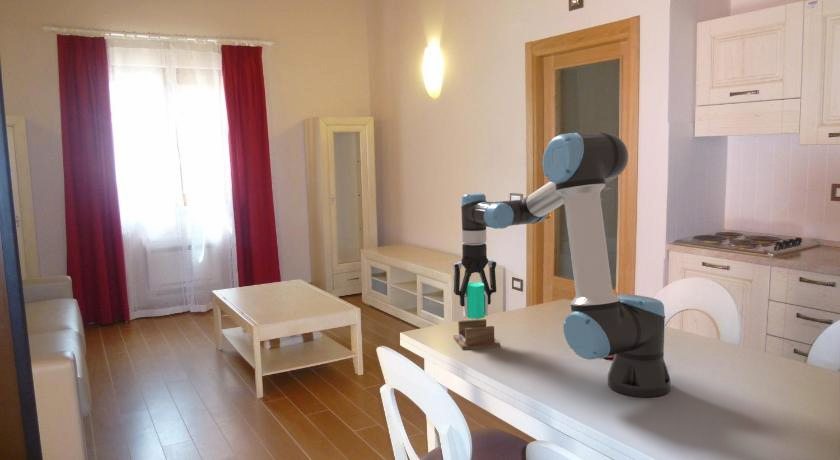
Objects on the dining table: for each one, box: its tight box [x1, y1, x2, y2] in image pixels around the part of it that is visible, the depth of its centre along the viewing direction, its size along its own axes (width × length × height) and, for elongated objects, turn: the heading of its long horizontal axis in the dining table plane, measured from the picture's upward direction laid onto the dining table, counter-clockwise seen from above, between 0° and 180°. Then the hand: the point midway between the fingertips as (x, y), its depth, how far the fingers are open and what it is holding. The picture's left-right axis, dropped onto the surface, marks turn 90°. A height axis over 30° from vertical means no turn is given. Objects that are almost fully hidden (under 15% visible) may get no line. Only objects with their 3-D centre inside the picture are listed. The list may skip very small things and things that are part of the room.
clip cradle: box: [453, 318, 501, 350], centre depth 197 cm, size 12×12×6 cm
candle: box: [465, 282, 486, 320], centre depth 195 cm, size 6×6×12 cm
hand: (475, 315), depth 196 cm, fingers closed on candle, 6 cm apart
